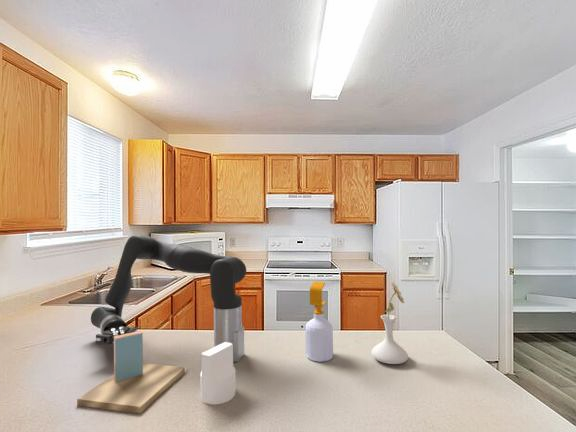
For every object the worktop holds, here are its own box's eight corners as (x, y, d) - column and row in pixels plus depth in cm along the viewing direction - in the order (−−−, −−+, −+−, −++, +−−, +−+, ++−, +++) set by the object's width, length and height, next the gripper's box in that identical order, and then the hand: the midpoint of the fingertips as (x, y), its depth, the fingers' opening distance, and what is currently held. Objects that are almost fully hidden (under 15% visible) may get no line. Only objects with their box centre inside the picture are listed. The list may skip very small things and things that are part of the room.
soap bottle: (336, 352, 104) (334, 281, 105) (328, 364, 96) (326, 286, 96) (311, 348, 108) (310, 279, 108) (302, 359, 100) (300, 284, 100)
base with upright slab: (218, 408, 74) (217, 359, 74) (193, 397, 79) (192, 351, 79) (242, 390, 82) (241, 345, 82) (218, 381, 87) (217, 339, 87)
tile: (114, 379, 86) (113, 336, 86) (141, 371, 90) (140, 330, 90) (115, 382, 84) (115, 339, 84) (143, 374, 88) (142, 333, 88)
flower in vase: (399, 371, 90) (397, 287, 91) (365, 360, 98) (363, 282, 99) (415, 357, 100) (414, 280, 101) (383, 347, 108) (381, 277, 108)
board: (185, 372, 92) (184, 367, 92) (140, 413, 73) (140, 406, 73) (133, 367, 96) (133, 362, 96) (77, 405, 76) (77, 398, 76)
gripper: (91, 321, 104) (97, 335, 91) (133, 313, 113) (145, 325, 99) (91, 343, 104) (97, 360, 91) (133, 333, 112) (145, 348, 99)
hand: (122, 342), depth 95 cm, fingers closed
